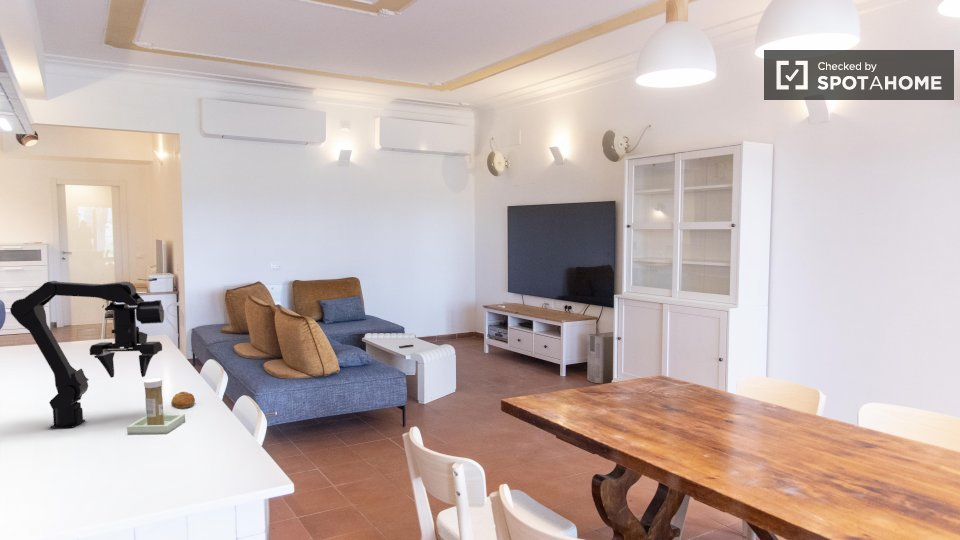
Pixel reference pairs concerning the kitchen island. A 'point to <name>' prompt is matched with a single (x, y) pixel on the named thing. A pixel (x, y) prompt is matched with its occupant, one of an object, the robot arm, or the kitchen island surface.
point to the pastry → (183, 400)
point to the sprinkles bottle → (154, 401)
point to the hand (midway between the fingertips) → (127, 377)
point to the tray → (169, 425)
